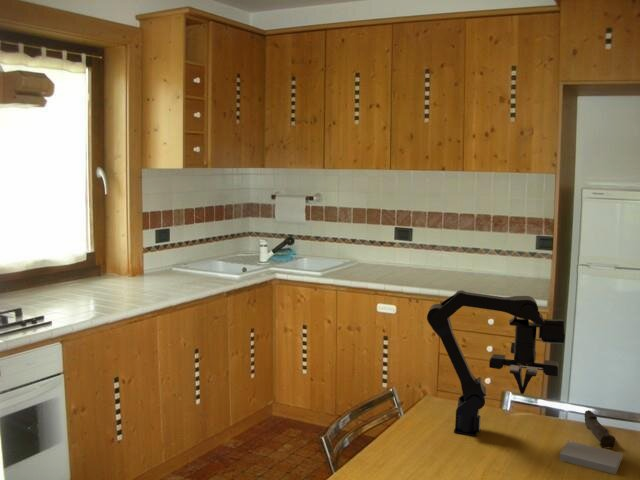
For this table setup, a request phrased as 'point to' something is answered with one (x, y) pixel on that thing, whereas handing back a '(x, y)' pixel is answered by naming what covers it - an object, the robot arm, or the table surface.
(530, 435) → the table surface
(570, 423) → the table surface
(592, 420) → the dark brown rough rod
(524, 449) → the table surface
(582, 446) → the tile
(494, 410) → the table surface
